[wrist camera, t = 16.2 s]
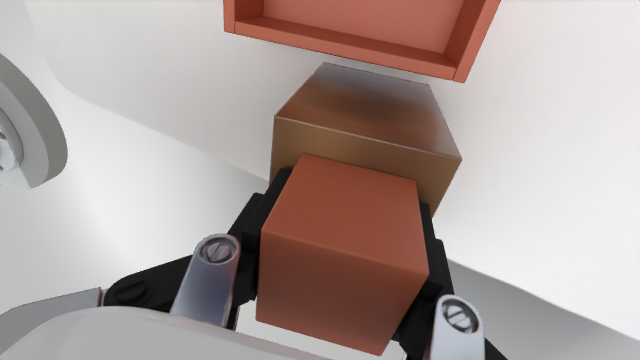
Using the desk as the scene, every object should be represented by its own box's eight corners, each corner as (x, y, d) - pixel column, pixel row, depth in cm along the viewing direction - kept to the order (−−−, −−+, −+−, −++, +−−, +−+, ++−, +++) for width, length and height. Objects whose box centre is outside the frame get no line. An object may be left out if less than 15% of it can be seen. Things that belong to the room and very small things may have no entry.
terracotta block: (290, 233, 14) (254, 321, 10) (302, 151, 11) (260, 229, 8) (382, 257, 13) (381, 357, 10) (416, 179, 11) (431, 274, 7)
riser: (308, 154, 23) (264, 244, 15) (323, 61, 19) (273, 114, 11) (395, 175, 22) (400, 281, 14) (429, 85, 18) (463, 158, 10)
